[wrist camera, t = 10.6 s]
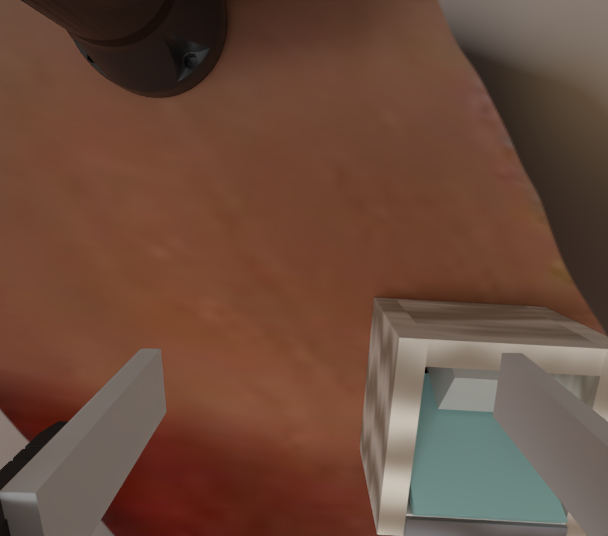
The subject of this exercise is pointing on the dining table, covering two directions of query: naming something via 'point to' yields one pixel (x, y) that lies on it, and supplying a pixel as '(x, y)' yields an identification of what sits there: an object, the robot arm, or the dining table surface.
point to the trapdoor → (474, 469)
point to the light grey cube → (464, 388)
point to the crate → (465, 355)
